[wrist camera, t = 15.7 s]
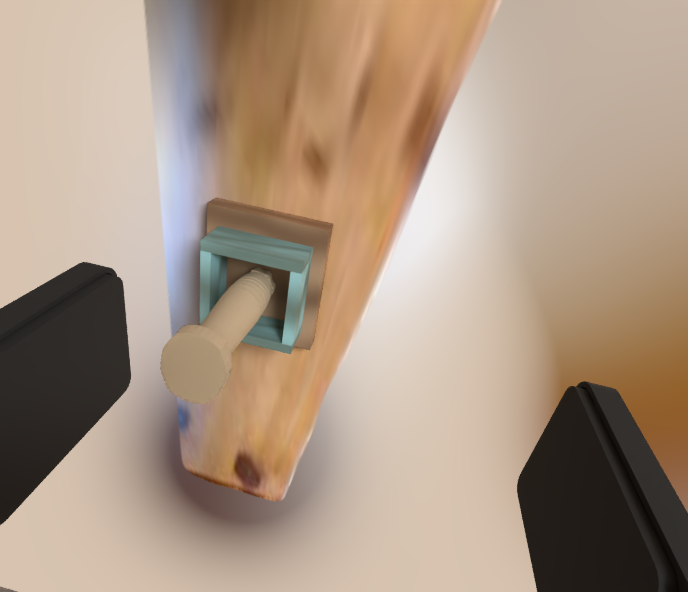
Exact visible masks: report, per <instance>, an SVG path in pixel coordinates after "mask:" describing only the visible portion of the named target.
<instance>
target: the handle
mask: <svg viewBox="0 0 688 592" xmlns="http://www.w3.org/2000/svg"><path fill="white" fill-rule="evenodd" d="M275 287H276V284H275V283H274V282H273V279H272V273H271V272H270V271H265V270H263V269H261V268H260V267H255V268H254V269H252V270H251V272H250V273H247V274H245V275H244V276H242V277H241V278H239V279H238V280H237V281H236V282H235V283H234V284H232V285H231V286H230V287H229V288H228V290H227V291H226V292H225V293H224V294H223V295H222V296H221V298H220V299H219V300H218V302H217V303H216V305H215V306H214V307H213V309H212V310H211V312H210V313H209V314H208V316H207V317H206V318H205V320H204V321H203V322H202V324H201V325H184V326H183V327H182V328H181V329H180V330H179V331H178V332H177V333H176V334H175V335H174V336H173V337H172V338H171V339H170V340H169V341H168V343H167V344H166V345H165V347H164V349H163V352H162V358H161V372H162V376H163V378H164V381H165V384H166V386H167V388H168V389H169V390H170V391H171V392H172V393H173V394H175V395H176V396H178V397H179V398H181V399H184V400H186V401H189V402H192V403H197V404H208V403H209V402H210V401H211V400H213V399H214V398H215V397H216V396H217V395H218V394H219V393H220V392H221V390H222V389H223V387H224V386H225V384H226V383H227V381H228V378H229V375H230V372H231V370H232V357H231V354H232V352H233V351H234V350H235V349H236V347H237V346H238V345H239V344H240V342H241V341H242V340H243V339H244V337H245V336H246V335H247V334H248V332H249V331H250V330H251V329H252V327H253V326H254V325H255V324H256V323H257V321H258V320H259V318H260V317H261V315H262V313H263V312H264V310H265V308H266V306H267V304H268V302H269V300H270V298H271V295H272V294H273V292H274V290H275Z"/></svg>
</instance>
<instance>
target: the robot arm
mask: <svg viewBox="0 0 688 592" xmlns="http://www.w3.org/2000/svg"><path fill="white" fill-rule="evenodd" d="M130 379H131V371H130V358H129V347H128V335H127V324H126V312H125V301H124V289H123V282H122V280H121V278H119V277H117V274H116V272H115V271H114V270H113V269H112V268H108V267H104V266H100V265H96V264H91V263H87V262H82V263H80V264H78V265H76V266H74V267H72V268H71V269H69V270H67V271H65V272H64V273H62V274H60V275H58V276H57V277H55V278H53V279H51V280H50V281H48V282H46V283H45V284H43V285H41V286H39V287H37V288H36V289H34V290H32V291H30V292H29V293H27V294H25V295H24V296H22V297H20V298H18V299H17V300H15V301H13V302H11V303H10V304H8V305H6V306H4V307H3V308H1V309H0V525H1V524H2V523H4V522H5V521H6V520H7V519H8V518H9V517H10V515H12V513H13V512H14V511H15V510H16V509H17V508H18V507H19V506H20V505H21V504H22V503H23V501H24V500H25V499H26V498H27V497H28V496H29V495H30V494H31V493H32V492H33V491H34V490H35V488H37V486H38V485H39V484H40V483H41V482H42V481H43V480H44V479H45V478H46V477H47V475H49V473H50V472H51V471H52V470H53V469H54V468H55V467H56V466H57V465H58V464H59V463H60V462H61V460H62V459H63V458H64V457H65V456H66V455H67V454H68V453H69V451H71V450H72V448H74V446H75V445H76V444H77V443H78V442H79V441H80V440H81V439H82V438H83V437H84V436H85V435H86V433H87V432H88V431H89V430H90V429H91V428H92V427H93V426H94V425H95V424H96V423H97V422H98V420H99V419H100V418H101V417H102V416H103V415H104V414H105V413H106V412H107V411H108V410H109V409H110V408H111V406H112V405H113V404H114V403H115V402H116V401H117V400H118V399H119V398H120V397H121V396H122V395H123V393H124V392H125V391H126V390H127V388H128V386H129V383H130ZM517 493H518V499H519V503H520V508H521V514H522V519H523V524H524V528H525V533H526V538H527V543H528V548H529V553H530V558H531V562H532V568H533V573H534V578H535V582H536V588H537V592H688V513H687V511H686V509H685V508H684V506H683V504H682V502H681V501H680V499H679V497H678V496H677V494H676V492H675V490H674V488H673V487H672V485H671V483H670V482H669V480H668V478H667V476H666V474H665V473H664V471H663V469H662V468H661V466H660V464H659V462H658V461H657V459H656V457H655V455H654V454H653V452H652V450H651V448H650V446H649V445H648V443H647V441H646V440H645V438H644V436H643V434H642V433H641V431H640V429H639V427H638V426H637V424H636V422H635V420H634V419H633V417H632V415H631V413H630V412H629V410H628V408H627V406H626V405H625V403H624V401H623V399H622V398H621V396H620V394H619V393H618V391H617V390H616V389H613V388H610V387H606V386H602V385H598V384H593V383H589V382H581V383H579V384H578V385H577V386H576V387H574V386H570V387H569V388H568V389H567V390H566V392H565V393H564V395H563V397H562V399H561V401H560V402H559V404H558V406H557V408H556V410H555V412H554V413H553V415H552V417H551V419H550V421H549V423H548V425H547V426H546V428H545V430H544V432H543V434H542V435H541V437H540V439H539V441H538V443H537V445H536V446H535V448H534V450H533V452H532V454H531V456H530V457H529V459H528V461H527V463H526V465H525V467H524V468H523V470H522V472H521V474H520V476H519V479H518V484H517ZM0 592H17V591H13V590H10V589H6V588H3V587H0Z"/></svg>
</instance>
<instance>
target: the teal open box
mask: <svg viewBox="0 0 688 592" xmlns="http://www.w3.org/2000/svg"><path fill="white" fill-rule="evenodd" d="M332 228H333V224H331V223H327V222H322V221H318V220H313V219H309V218H304V217H300V216H295V215H291V214H286V213H282V212H278V211H273V210H269V209H264V208H260V207H255V206H251V205H246V204H242V203H237V202H233V201H228V200H224V199H219V198H215V199H213V200H212V201H210V202H208V203H207V235H206V236H205V237H204V238H203V239H201V240H200V325H201V324H202V322H203V321H204V320H205V318H206V317H207V316H208V314H209V313H210V312H211V310H212V309H213V307H214V306H215V305H216V303H217V302H218V300H219V299H220V298H221V296H222V295H223V294H224V293H225V292H226V291H227V290H228V288H229V287H230V286H231V285H232V284H234V283H235V282H236V281H237V280H238V279H239V278H241V277H242V276H244V275H245V274H247V273H250V272H251V270H252V269H254V268H255V267H260V268H261V269H263V270H265V271H270V272H271V273H272V279H273V282H274V283H275V284H276V287H275V290H274V292H273V294H272V295H271V298H270V300H269V302H268V304H267V306H266V308H265V310H264V312H263V313H262V315H261V317H260V318H259V320H258V321H257V323H256V324H255V325H254V326H253V327H252V329H251V330H250V331H249V332H248V334H247V335H246V336H245V337H244V339H243V340H242V341H241V342H243V343H247V344H251V345H255V346H259V347H263V348H267V349H272V350H276V351H280V352H284V353H288V354H291V352H292V350H293V348H294V347H298V348H302V349H306V350H310V348H311V346H312V344H313V341H314V337H315V331H316V325H317V319H318V313H319V307H320V301H321V295H322V289H323V283H324V276H325V270H326V264H327V258H328V252H329V246H330V240H331V234H332Z"/></svg>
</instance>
